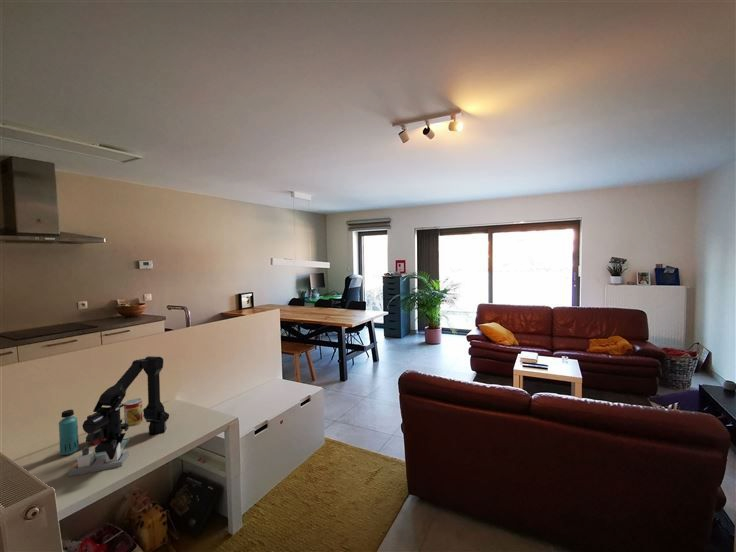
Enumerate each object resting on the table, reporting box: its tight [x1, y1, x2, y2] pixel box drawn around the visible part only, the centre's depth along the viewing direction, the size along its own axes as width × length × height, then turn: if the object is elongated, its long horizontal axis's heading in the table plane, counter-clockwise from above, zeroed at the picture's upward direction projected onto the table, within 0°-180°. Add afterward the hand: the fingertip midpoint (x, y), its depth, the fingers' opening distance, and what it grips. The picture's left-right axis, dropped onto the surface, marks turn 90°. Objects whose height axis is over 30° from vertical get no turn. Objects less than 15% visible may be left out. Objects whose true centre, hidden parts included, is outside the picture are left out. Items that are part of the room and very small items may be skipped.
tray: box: [94, 436, 132, 457], centre depth 150 cm, size 13×10×1 cm
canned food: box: [123, 397, 144, 428], centre depth 173 cm, size 8×8×12 cm
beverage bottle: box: [58, 409, 80, 456], centre depth 145 cm, size 6×7×20 cm
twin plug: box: [76, 446, 95, 468], centre depth 135 cm, size 4×4×8 cm
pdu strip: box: [68, 451, 129, 477], centre depth 136 cm, size 18×8×3 cm, turn 110°
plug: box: [105, 443, 121, 463], centre depth 138 cm, size 4×4×8 cm
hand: (113, 456), depth 138 cm, fingers closed on plug, 4 cm apart
